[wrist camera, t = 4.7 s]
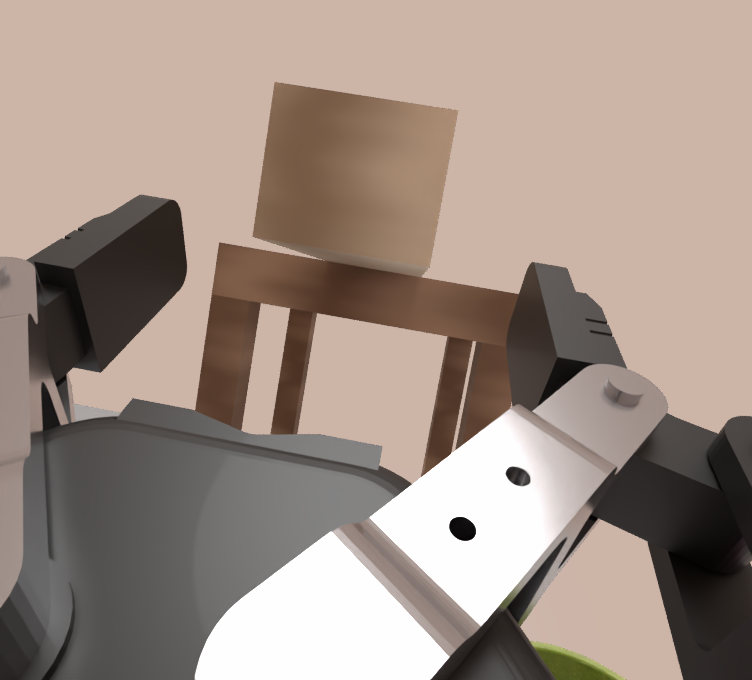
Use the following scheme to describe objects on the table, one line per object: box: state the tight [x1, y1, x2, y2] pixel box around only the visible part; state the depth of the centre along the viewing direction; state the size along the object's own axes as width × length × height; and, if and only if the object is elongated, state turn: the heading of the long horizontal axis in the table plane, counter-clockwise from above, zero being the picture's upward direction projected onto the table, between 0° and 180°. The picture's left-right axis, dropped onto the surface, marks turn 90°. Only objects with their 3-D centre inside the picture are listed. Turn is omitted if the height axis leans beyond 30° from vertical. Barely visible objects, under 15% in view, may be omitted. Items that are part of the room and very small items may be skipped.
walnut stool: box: [195, 243, 519, 478], centre depth 28 cm, size 12×15×32 cm
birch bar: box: [253, 82, 458, 277], centre depth 22 cm, size 4×24×3 cm, turn 176°
